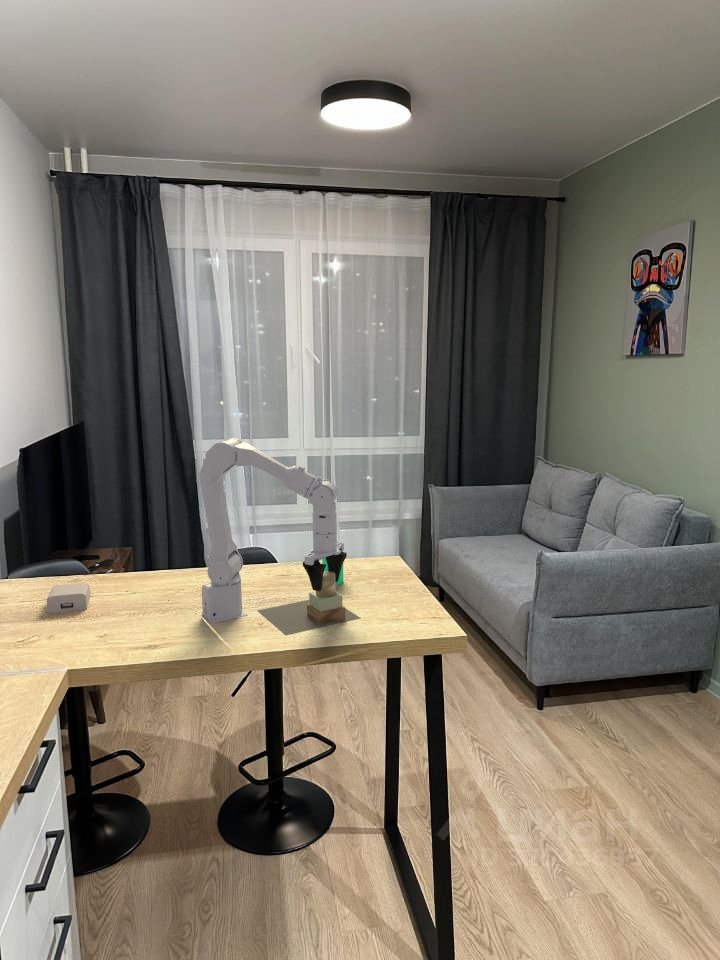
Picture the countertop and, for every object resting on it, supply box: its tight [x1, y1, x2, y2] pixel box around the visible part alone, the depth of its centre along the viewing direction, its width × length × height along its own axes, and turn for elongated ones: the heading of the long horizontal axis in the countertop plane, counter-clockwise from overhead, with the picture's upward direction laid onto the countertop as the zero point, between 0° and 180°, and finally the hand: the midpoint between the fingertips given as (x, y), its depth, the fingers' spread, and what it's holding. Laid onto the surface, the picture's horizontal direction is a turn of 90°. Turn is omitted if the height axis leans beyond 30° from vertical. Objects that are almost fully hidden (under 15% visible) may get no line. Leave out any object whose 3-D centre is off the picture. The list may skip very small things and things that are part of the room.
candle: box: [321, 550, 345, 585], centre depth 189 cm, size 6×6×12 cm
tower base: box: [307, 603, 346, 625], centre depth 163 cm, size 7×7×3 cm
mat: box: [256, 599, 361, 636], centre depth 165 cm, size 20×18×1 cm
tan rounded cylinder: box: [316, 571, 337, 597], centre depth 162 cm, size 5×5×5 cm
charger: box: [46, 582, 91, 614], centre depth 176 cm, size 5×9×15 cm
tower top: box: [308, 590, 343, 612], centre depth 163 cm, size 6×6×3 cm
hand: (325, 585), depth 162 cm, fingers open, 7 cm apart
